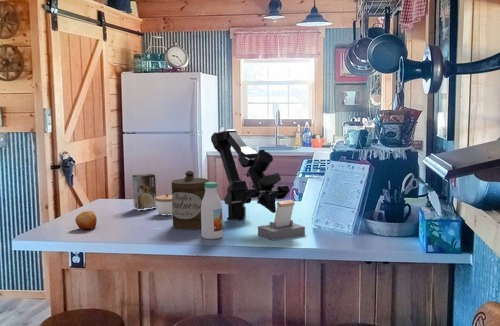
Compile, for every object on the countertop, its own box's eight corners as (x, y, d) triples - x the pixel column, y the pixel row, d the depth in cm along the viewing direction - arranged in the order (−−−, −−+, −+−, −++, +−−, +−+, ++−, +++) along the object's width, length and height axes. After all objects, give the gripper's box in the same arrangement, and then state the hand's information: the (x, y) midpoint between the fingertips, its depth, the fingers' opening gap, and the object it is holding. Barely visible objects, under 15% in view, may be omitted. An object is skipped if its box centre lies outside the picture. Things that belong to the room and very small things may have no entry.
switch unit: (258, 234, 198) (257, 221, 198) (289, 229, 205) (289, 216, 205) (272, 240, 190) (272, 226, 189) (304, 234, 197) (304, 221, 196)
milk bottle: (206, 240, 191) (205, 185, 188) (198, 236, 197) (196, 182, 195) (226, 237, 194) (225, 183, 192) (217, 233, 201) (216, 180, 199)
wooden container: (166, 228, 210) (164, 172, 208) (183, 220, 224) (181, 168, 222) (200, 231, 205) (198, 173, 203) (216, 222, 219) (214, 169, 217)
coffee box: (152, 206, 254) (151, 173, 252) (157, 209, 249) (155, 174, 247) (133, 209, 249) (132, 174, 248) (137, 211, 244) (136, 176, 242)
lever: (272, 225, 196) (277, 201, 193) (286, 223, 199) (291, 199, 196) (276, 229, 195) (280, 204, 191) (289, 226, 198) (294, 202, 194)
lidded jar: (151, 214, 238) (150, 193, 237) (172, 210, 244) (171, 190, 243) (162, 218, 229) (161, 196, 228) (184, 214, 236) (183, 193, 234)
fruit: (104, 222, 216) (97, 207, 211) (94, 236, 210) (87, 221, 206) (87, 221, 219) (79, 206, 214) (77, 235, 213) (69, 220, 208)
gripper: (245, 168, 198) (261, 202, 190) (287, 164, 207) (304, 197, 199) (235, 186, 206) (250, 220, 198) (276, 181, 215) (291, 214, 207)
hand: (274, 212), depth 200 cm, fingers closed
